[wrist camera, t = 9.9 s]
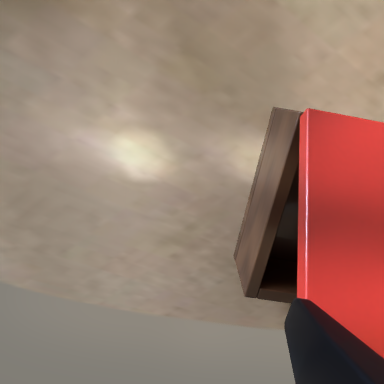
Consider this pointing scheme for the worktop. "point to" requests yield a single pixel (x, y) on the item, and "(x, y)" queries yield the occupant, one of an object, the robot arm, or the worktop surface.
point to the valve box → (272, 215)
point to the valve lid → (342, 221)
